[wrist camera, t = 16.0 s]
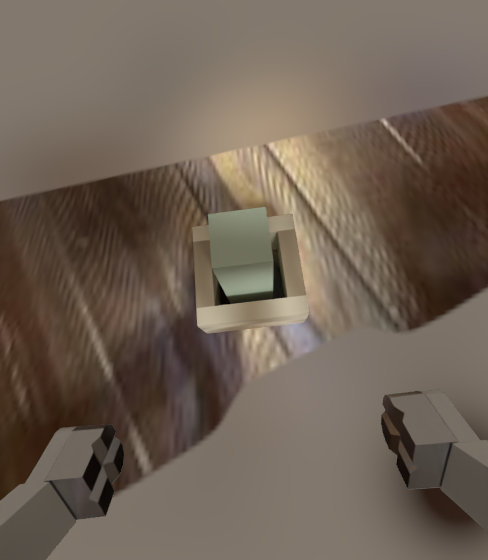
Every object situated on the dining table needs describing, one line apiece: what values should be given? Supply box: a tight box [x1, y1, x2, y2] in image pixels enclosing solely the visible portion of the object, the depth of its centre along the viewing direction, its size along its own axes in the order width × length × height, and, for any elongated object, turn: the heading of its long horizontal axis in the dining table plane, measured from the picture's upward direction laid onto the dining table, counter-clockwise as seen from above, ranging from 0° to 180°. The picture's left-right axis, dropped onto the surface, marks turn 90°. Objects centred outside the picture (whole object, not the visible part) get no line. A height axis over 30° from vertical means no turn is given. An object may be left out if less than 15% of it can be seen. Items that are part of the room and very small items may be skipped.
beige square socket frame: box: [192, 214, 309, 333], centre depth 28 cm, size 9×9×4 cm
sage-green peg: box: [208, 207, 273, 304], centre depth 25 cm, size 4×4×10 cm
